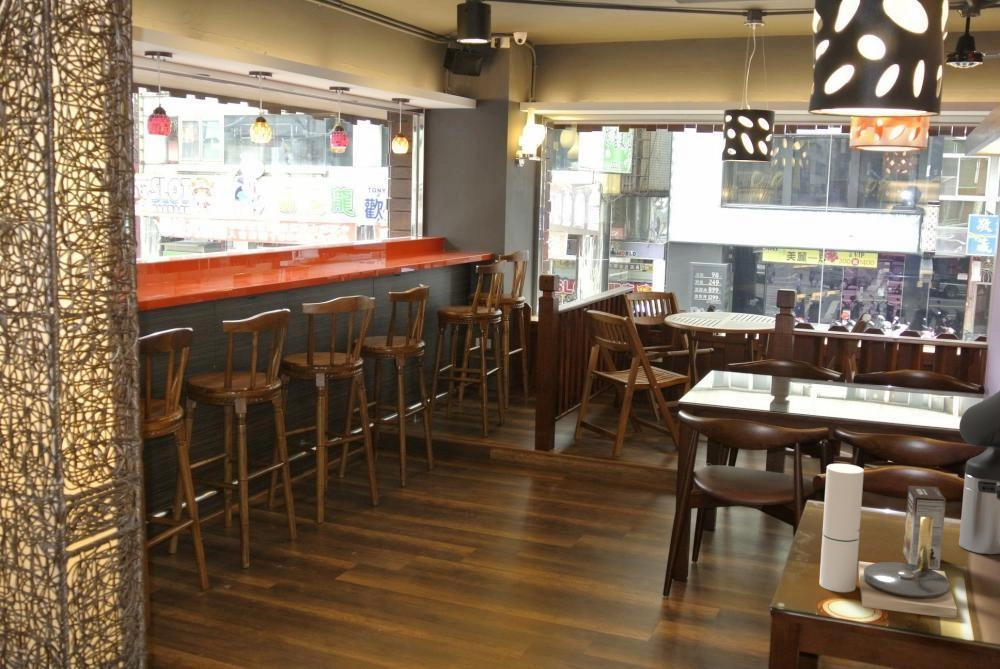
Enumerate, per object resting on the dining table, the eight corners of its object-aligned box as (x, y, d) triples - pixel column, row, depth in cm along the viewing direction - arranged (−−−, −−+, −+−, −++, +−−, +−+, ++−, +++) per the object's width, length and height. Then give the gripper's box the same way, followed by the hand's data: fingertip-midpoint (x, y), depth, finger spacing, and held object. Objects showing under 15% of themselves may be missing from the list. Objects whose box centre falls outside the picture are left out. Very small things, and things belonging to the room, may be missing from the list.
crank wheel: (923, 605, 194) (927, 544, 192) (848, 579, 206) (851, 522, 204) (963, 584, 204) (968, 526, 202) (889, 561, 216) (893, 506, 214)
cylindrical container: (858, 583, 210) (866, 467, 206) (851, 595, 204) (859, 475, 200) (823, 576, 213) (831, 461, 210) (815, 587, 207) (823, 469, 204)
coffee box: (902, 553, 228) (907, 484, 225) (932, 555, 226) (937, 486, 224) (909, 568, 219) (915, 496, 216) (941, 570, 217) (947, 499, 215)
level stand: (858, 570, 217) (859, 559, 217) (943, 580, 212) (944, 569, 212) (862, 606, 198) (862, 595, 198) (956, 618, 193) (956, 607, 193)
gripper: (1086, 466, 190) (993, 457, 203) (1056, 487, 182) (962, 476, 195) (1089, 504, 191) (996, 493, 204) (1060, 527, 183) (965, 513, 196)
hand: (979, 485), depth 200 cm, fingers closed
